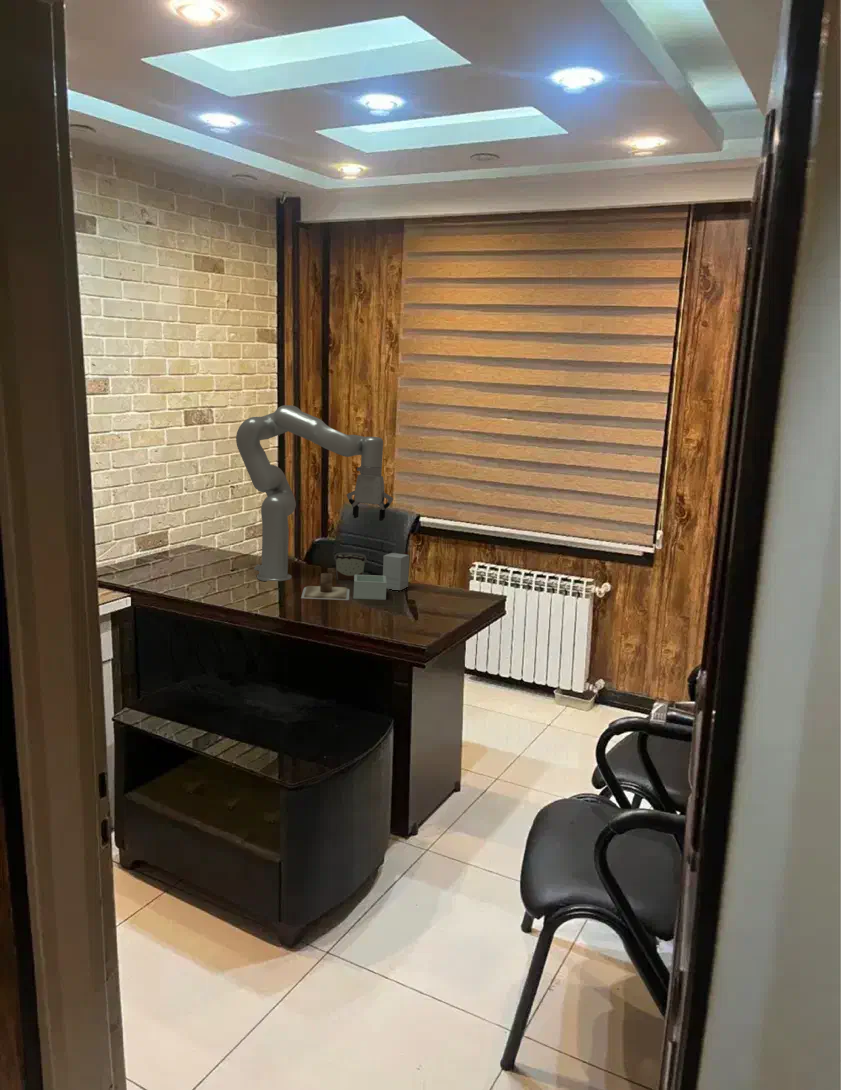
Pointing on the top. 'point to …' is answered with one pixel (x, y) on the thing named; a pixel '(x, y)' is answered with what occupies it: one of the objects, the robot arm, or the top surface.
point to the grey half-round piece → (349, 565)
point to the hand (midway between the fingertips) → (368, 519)
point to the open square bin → (370, 587)
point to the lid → (325, 589)
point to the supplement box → (396, 570)
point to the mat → (326, 598)
